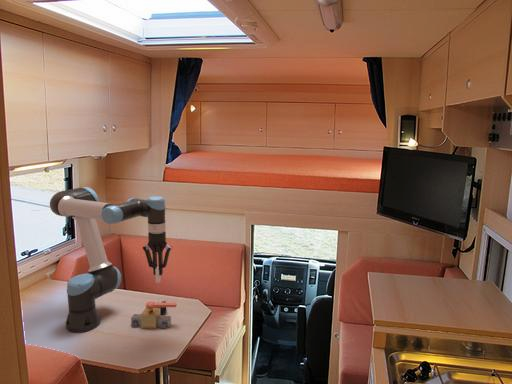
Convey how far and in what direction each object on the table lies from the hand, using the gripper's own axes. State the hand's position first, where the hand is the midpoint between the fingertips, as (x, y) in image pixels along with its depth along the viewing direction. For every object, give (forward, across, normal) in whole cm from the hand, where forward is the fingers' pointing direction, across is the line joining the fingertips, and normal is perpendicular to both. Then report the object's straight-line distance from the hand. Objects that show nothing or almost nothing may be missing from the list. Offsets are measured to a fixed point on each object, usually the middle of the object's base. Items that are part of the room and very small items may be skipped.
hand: (158, 281), depth 183 cm
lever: (+15, -1, +5) cm, 16 cm away
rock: (+25, -6, +15) cm, 29 cm away
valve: (+24, -6, +5) cm, 25 cm away
